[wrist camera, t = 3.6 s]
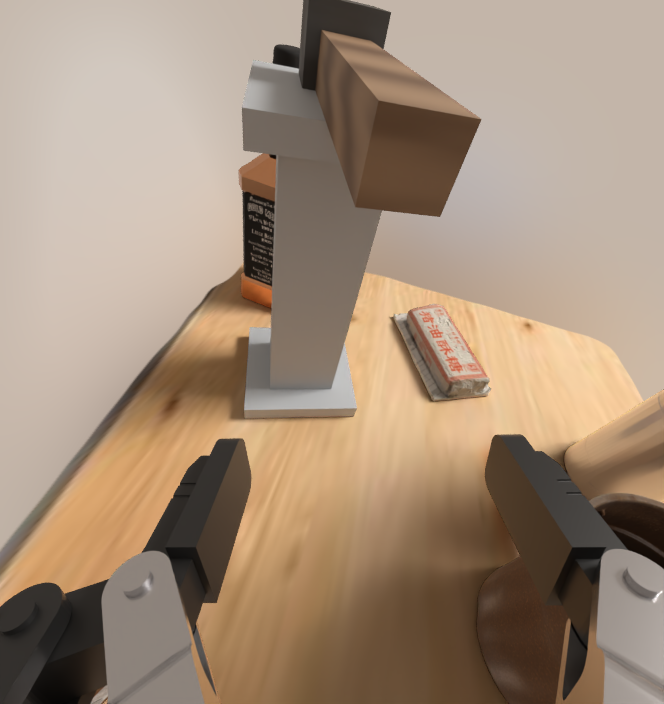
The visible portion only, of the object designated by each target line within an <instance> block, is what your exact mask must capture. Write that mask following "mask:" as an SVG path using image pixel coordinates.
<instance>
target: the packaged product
mask: <svg viewBox="0 0 664 704" xmlns="http://www.w3.org/2000/svg"><path fill="white" fill-rule="evenodd" d="M393 318H394V320H395V323H396V325H397V327H398V329H399V330H400V332H401V335H402V337H403V339H404V341H405V344H406V346H407V348H408V350H409V352H410V355H411V357H412V360H413V362H414V364H415V366H416V368H417V370H418V371H419V373H420V376H421V378H422V380H423V382H424V384H425V386H426V388H427V391H428V393H429V395H430V397H431V398H432V401H442V400H453V399H462V398H472V397H481V396H488V394H489V392H490V390H491V388H490V387H488V383H489V378H488V377H487V375H486V373H485V372H484V370H483V368H482V367H481V365H480V363H479V362H478V360H477V359H476V357H475V356H474V354H473V353H472V351H471V349H470V347H469V346H468V344H467V342H466V341H465V340H464V338H463V336H462V335H461V333H460V332H459V330H458V328H457V327H456V326H455V324H454V322H453V321H452V319H451V317H450V316H449V314H448V312H447V311H446V309H445V308H444V306H441V305H438V304H430V305H428V306H424V307H419V308H418V307H417V308H414V309H412V310H410V311H409V312H408V313H405V314H399V315H396V314H394V316H393Z"/></svg>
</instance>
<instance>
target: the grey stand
mask: <svg viewBox="0 0 664 704" xmlns="http://www.w3.org/2000/svg"><path fill="white" fill-rule="evenodd" d="M242 122H243V150H244V151H251V152H259V153H265V154H272V155H276V184H275V215H274V245H273V276H272V307H271V328H257V327H250V332H249V346H248V360H247V375H246V389H245V404H244V416H245V418H290V417H340V416H354V414H355V412H356V409H357V406H356V401H355V395H354V390H353V385H352V380H351V374H350V369H349V364H348V358H347V353H346V348H345V339H346V336H347V332H348V328H349V325H350V321H351V318H352V314H353V311H354V307H355V304H356V300H357V297H358V293H359V290H360V286H361V283H362V279H363V276H364V272H365V269H366V265H367V261H368V258H369V254H370V251H371V247H372V243H373V240H374V237H375V233H376V230H377V226H378V223H379V219H380V216H381V212H382V210H375V209H366V208H357V207H355V205H354V202H353V199H352V196H351V193H350V191H349V188H348V185H347V182H346V179H345V176H344V173H343V170H342V167H341V164H340V161H339V159H338V156H337V153H336V150H335V147H334V144H333V141H332V138H331V135H330V132H329V129H328V127H327V124H326V121H325V118H324V115H323V112H322V109H321V106H320V103H319V100H318V97H317V94H316V92H315V91H314V90H308V89H303V88H302V86H301V82H300V77H299V69H297V68H292V67H287V66H282V65H277V64H272V63H266V62H261V61H256V60H253V64H252V68H251V72H250V76H249V80H248V84H247V89H246V93H245V97H244V101H243V106H242Z"/></svg>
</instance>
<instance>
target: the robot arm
mask: <svg viewBox="0 0 664 704" xmlns="http://www.w3.org/2000/svg"><path fill="white" fill-rule="evenodd" d="M564 462H565V467H566V470H567V473H568V474H567V473H566V472H565V471H564V469H563V468H562V467H561V466H560V464H558V463H557V462H556V461H554V460H553V459H552V458H550V457H549V456H548V455H546V454H545V453H544V452H542V451H535V450H534V449H533V448H532V446H531V445H530V444H529V442H528V441H527V439H526V438H525V437H524V436H523V435H520V434H515V435H495V436H494V437H493V439H492V443H491V447H490V451H489V455H488V460H487V464H486V468H485V480H486V485H487V488H488V490H489V493H490V495H491V497H492V499H493V501H494V503H495V505H496V507H497V509H498V511H499V513H500V515H501V517H502V519H503V521H504V523H505V525H506V527H507V529H508V531H509V533H510V535H511V537H512V539H513V541H514V543H515V545H516V547H517V550H518V552H519V554H520V556H521V558H522V560H523V562H524V564H525V566H526V568H527V570H528V572H529V574H530V576H531V578H532V580H533V582H534V584H535V586H536V588H537V590H538V592H539V594H540V596H541V598H542V600H543V602H544V604H545V605H563V607H564V609H565V611H566V613H567V615H568V617H569V618H568V620H567V623H566V629H565V636H564V644H563V651H562V659H561V667H560V674H559V682H558V690H557V697H556V703H555V704H664V569H663V568H662V567H660V566H659V565H657V564H656V563H655V562H653V561H651V560H650V559H648V558H646V557H644V556H642V555H640V554H637V553H635V552H632V551H629V550H628V549H627V548H626V547H625V546H624V545H623V543H622V542H621V541H620V540H619V538H618V537H617V536H616V535H615V533H614V532H613V531H612V530H611V528H610V527H609V526H608V525H607V523H606V522H605V521H604V520H603V518H602V517H601V516H600V515H599V513H598V512H597V511H596V510H595V508H594V507H593V506H592V505H591V503H590V502H589V501H588V500H591V499H593V498H595V497H598V496H601V495H604V494H609V493H628V494H635V495H639V496H643V497H647V498H650V499H654V500H657V501H659V502H664V389H663V390H662V391H660V392H658V393H657V394H655V395H654V396H652V397H650V398H649V399H647V400H646V401H644V402H642V403H641V404H639V405H637V406H636V407H634V408H632V409H631V410H629V411H628V412H626V413H624V414H623V415H621V416H620V417H618V418H616V419H615V420H613V421H611V422H610V423H608V424H607V425H605V426H603V427H602V428H600V429H598V430H597V431H595V432H594V433H592V434H590V435H588V436H587V437H585V438H584V439H582V440H580V441H579V442H577V443H575V444H574V445H572V446H571V447H569V448H568V449H567V451H566V453H565V457H564ZM568 475H569V476H568ZM571 480H572V481H571ZM250 488H251V470H250V466H249V461H248V456H247V451H246V447H245V442H244V440H243V439H219V440H218V441H217V442H216V444H215V446H214V448H213V450H212V452H211V454H210V456H200V457H199V458H198V459H197V460H196V461H195V462H194V463H193V464H192V465H191V466H190V467H189V468H188V469H187V471H186V473H185V475H184V477H183V479H182V480H181V482H180V486H178V488H177V490H176V491H175V493H174V495H173V499H171V501H170V503H169V504H168V506H167V508H166V510H165V512H164V514H163V515H162V517H161V519H160V521H159V523H158V525H157V526H156V528H155V530H154V532H153V534H152V536H151V537H150V539H149V541H148V543H147V545H146V547H145V548H144V550H143V551H142V553H141V554H138V555H136V556H134V557H132V558H131V559H129V560H127V561H126V562H125V563H124V564H122V565H121V566H120V567H119V568H118V569H117V570H116V571H115V572H114V573H113V575H112V576H111V577H110V579H108V580H105V581H102V582H99V583H96V584H93V585H90V586H87V587H84V588H81V589H78V590H75V591H72V592H69V593H66V594H64V593H63V591H62V590H61V589H60V587H59V586H58V585H56V584H54V583H41V584H37V585H34V586H31V587H29V588H27V589H25V590H23V591H21V592H19V593H18V594H16V595H15V596H13V597H12V598H10V599H9V600H8V601H7V602H5V603H4V604H3V605H2V606H1V607H0V704H91V702H92V700H93V697H94V695H95V693H96V690H97V689H100V688H102V687H104V686H107V689H108V703H107V704H221V701H220V698H219V694H218V691H217V688H216V684H215V681H214V678H213V674H212V671H211V667H210V664H209V661H208V657H207V654H206V650H205V647H204V644H203V640H202V637H201V633H200V630H199V627H198V623H197V619H198V616H199V613H200V610H201V607H202V604H203V603H217V600H218V596H219V593H220V590H221V586H222V583H223V580H224V576H225V573H226V570H227V566H228V563H229V560H230V556H231V553H232V550H233V546H234V543H235V539H236V536H237V533H238V529H239V526H240V523H241V519H242V516H243V513H244V509H245V506H246V503H247V499H248V496H249V492H250ZM582 494H583V495H582ZM587 499H588V500H587Z"/></svg>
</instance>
